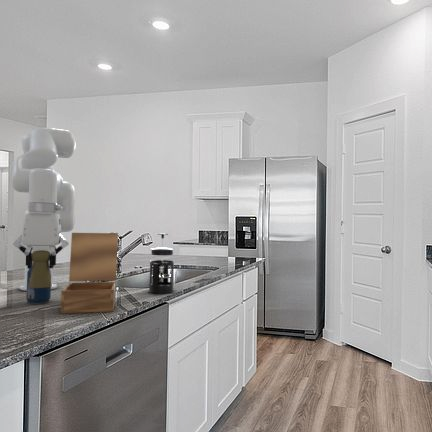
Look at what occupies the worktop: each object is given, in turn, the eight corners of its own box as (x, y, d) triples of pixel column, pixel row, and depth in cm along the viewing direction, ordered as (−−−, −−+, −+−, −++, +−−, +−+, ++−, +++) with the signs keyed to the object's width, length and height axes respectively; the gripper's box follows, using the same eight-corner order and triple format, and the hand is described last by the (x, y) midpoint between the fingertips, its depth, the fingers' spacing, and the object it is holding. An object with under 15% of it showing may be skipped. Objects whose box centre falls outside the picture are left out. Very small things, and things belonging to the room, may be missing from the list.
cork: (41, 288, 128) (42, 251, 128) (23, 287, 129) (25, 250, 129) (55, 285, 134) (57, 250, 134) (39, 284, 135) (40, 249, 135)
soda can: (52, 300, 147) (53, 265, 147) (47, 304, 140) (48, 267, 140) (29, 300, 145) (30, 265, 145) (23, 304, 138) (24, 267, 138)
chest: (113, 311, 133) (113, 289, 133) (60, 313, 128) (61, 291, 128) (115, 301, 148) (116, 281, 148) (68, 303, 143) (69, 282, 143)
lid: (117, 233, 150) (118, 233, 151) (71, 232, 145) (72, 232, 146) (116, 280, 148) (116, 280, 148) (69, 281, 143) (69, 281, 143)
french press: (155, 288, 174) (156, 232, 174) (177, 290, 173) (179, 233, 173) (142, 294, 162) (144, 233, 162) (166, 295, 161) (168, 234, 161)
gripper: (75, 210, 138) (73, 266, 138) (13, 208, 132) (12, 266, 132) (71, 209, 131) (69, 269, 131) (6, 208, 125) (5, 269, 125)
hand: (40, 267), depth 132 cm, fingers closed on cork, 5 cm apart
